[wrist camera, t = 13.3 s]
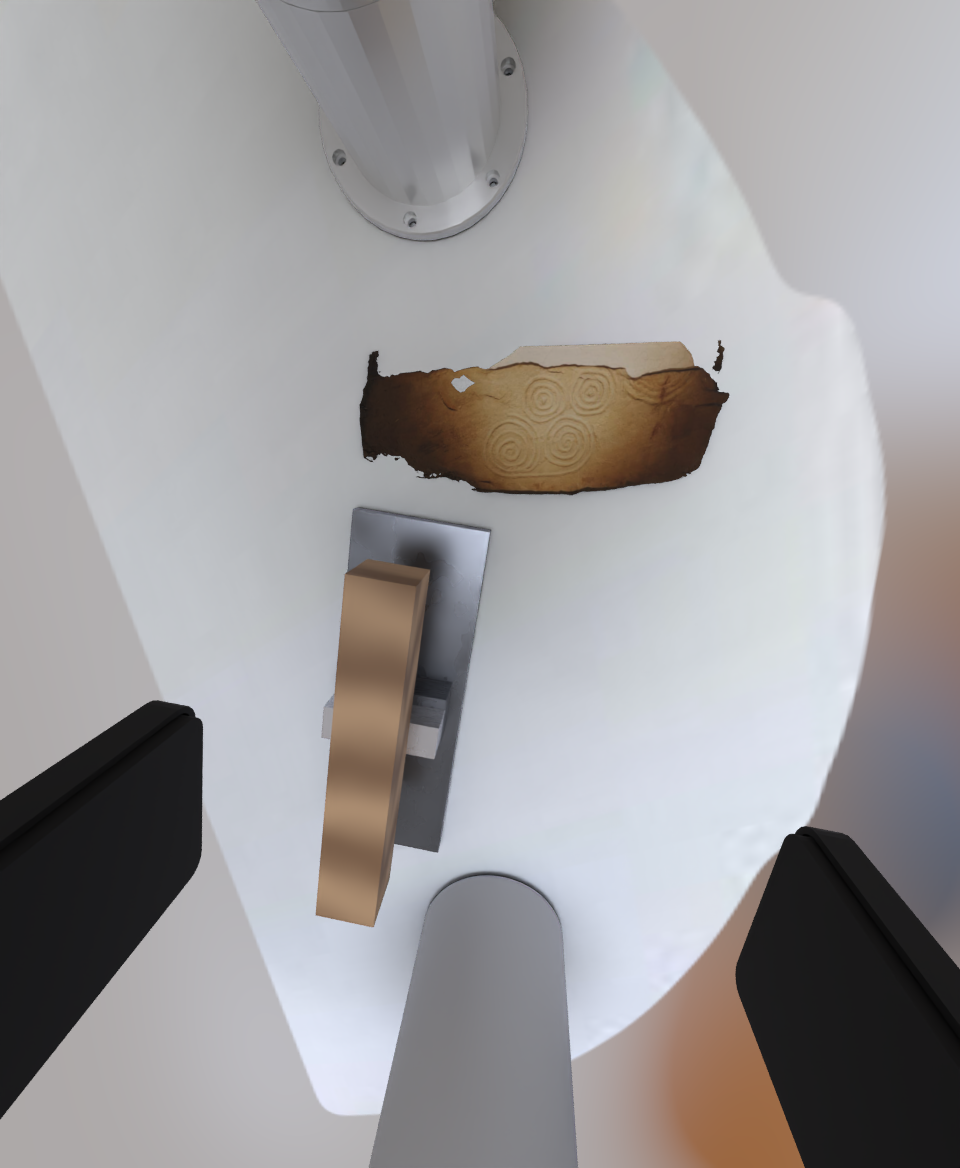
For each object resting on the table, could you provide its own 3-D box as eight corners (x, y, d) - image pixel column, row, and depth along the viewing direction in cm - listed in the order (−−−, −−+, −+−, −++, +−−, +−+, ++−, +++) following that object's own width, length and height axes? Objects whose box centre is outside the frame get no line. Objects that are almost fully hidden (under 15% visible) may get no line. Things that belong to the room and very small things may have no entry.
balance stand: (358, 507, 38) (323, 519, 31) (491, 529, 37) (482, 546, 31) (330, 819, 45) (296, 881, 39) (440, 842, 45) (425, 908, 38)
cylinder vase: (399, 929, 48) (267, 1416, 24) (478, 845, 45) (418, 1310, 21) (506, 1000, 49) (482, 1536, 25) (590, 923, 46) (658, 1454, 22)
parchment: (731, 340, 33) (736, 337, 32) (715, 494, 35) (719, 495, 34) (360, 349, 36) (356, 347, 35) (367, 492, 38) (364, 492, 37)
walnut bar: (367, 558, 32) (344, 574, 28) (430, 569, 32) (416, 586, 28) (337, 868, 38) (315, 915, 34) (389, 879, 38) (373, 927, 34)
